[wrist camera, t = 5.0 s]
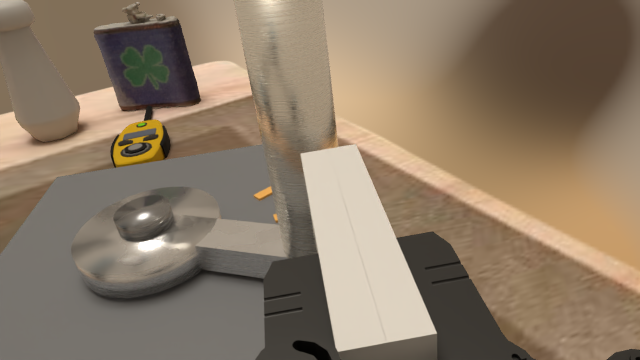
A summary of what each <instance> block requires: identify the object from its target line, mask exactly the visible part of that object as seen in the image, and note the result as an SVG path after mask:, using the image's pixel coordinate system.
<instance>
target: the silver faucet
mask: <svg viewBox="0 0 640 360" xmlns="http://www.w3.org/2000/svg"><path fill="white" fill-rule="evenodd" d="M234 5H235V10H236V15H237V20H238V25H239V30H240V35H241V40H242V45H243V50H244V55H245V60H246V64H247V70H248V75H249V80H250V85H251V90H252V95H253V100H254V105H255V110H256V115H257V120H258V124H259V129H260V134H261V139H262V144H263V149H264V154H265V159H266V164H267V169H268V174H269V179H270V184H271V189H272V194H273V199H274V204H275V209H276V214H277V219H278V224H279V225H276V224H266V223H257V222H247V221H237V220H227V219H222V217H221V214H220V210H219V206H218V204H217V201H216V200H215V199H214V197H213V196H211V195H210V194H209V193H207V192H205V191H203V190H200V189H196V188H191V187H165V188H158V189H153V190H149V191H145V192H141V193H138V194H135V195H132V196H129V197H127V198H124V199H122V200H120V201H118V202H116V203H114V204H112V205H110V206H108V207H106V208H105V209H103V210H102V211H100V212H99V213H97V214H96V215H95V216H93V217H92V218H91V219H90V220H89V221H87V222H86V223H85V224H84V225H83V226H82V228H81V229H80V230H79V231H78V233H77V234H76V236H75V238H74V240H73V243H72V246H71V254H72V258H73V260H74V262H75V264H76V266H77V268H78V270H79V272H80V274H81V276H82V278H83V280H84V282H85V283H86V285H87V286H88V287H89V288H90V289H91V290H93V291H94V292H96V293H98V294H100V295H103V296H107V297H113V298H134V297H141V296H147V295H151V294H155V293H158V292H161V291H164V290H167V289H170V288H172V287H174V286H176V285H179V284H181V283H182V282H184V281H186V280H188V279H190V278H191V277H193V276H194V275H196V274H197V273H199V272H200V271H201V270H209V271H216V272H223V273H229V274H236V275H243V276H250V277H257V278H264V277H265V275H266V274H267V272H268V270H269V268H270V266H271V264H272V262H273V261H278V260H284V259H290V258H295V257H301V256H306V255H312V254H317V249H316V243H315V237H314V232H313V226H312V220H311V214H310V208H309V202H308V196H307V190H306V184H305V178H304V172H303V166H302V160H301V153H307V152H312V151H318V150H324V149H330V148H336V147H338V139H337V130H336V121H335V112H334V103H333V94H332V85H331V77H330V67H329V58H328V49H327V40H326V31H325V22H324V13H323V4H322V0H234Z"/></svg>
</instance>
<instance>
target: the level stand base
mask: <svg viewBox="0 0 640 360" xmlns="http://www.w3.org/2000/svg"><path fill="white" fill-rule="evenodd" d="M165 187H191V188H196V189H200V190H203V191H205V192H207V193H209V194H210V195H211V196H213V197H214V199H215V200H216V201H217V204H218V206H219V210H220V214H221V217H222V219H227V220H237V221H247V222H257V223H266V224H276V225H279V224H278V219H277V214H276V209H275V204H274V199H273V194H272V189H271V184H270V179H269V174H268V169H267V164H266V159H265V154H264V149H263V144H262V145H256V146H249V147H243V148H237V149H231V150H224V151H218V152H212V153H206V154H199V155H193V156H187V157H180V158H174V159H168V160H162V161H155V162H149V163H143V164H137V165H130V166H124V167H118V168H112V169H105V170H99V171H93V172H86V173H80V174H74V175H68V176H61V177H57V178H56V179H55V181H54V182H53V183H52V185H51V186H50V187H49V189H48V190H47V192H46V193H45V194H44V196H43V197H42V198H41V200H40V201H39V202H38V204H37V205H36V207H35V208H34V209H33V211H32V212H31V213H30V215H29V216H28V218H27V219H26V220H25V222H24V223H23V224H22V226H21V227H20V228H19V230H18V231H17V233H16V234H15V235H14V237H13V238H12V239H11V241H10V242H9V244H8V245H7V246H6V248H5V249H4V250H3V252H2V253H1V254H0V360H255V359H256V358H257V356H258V355H259V353H260V352H261V350H263V349H264V348H265V330H264V318H265V316H264V280H263V279H264V278H257V277H250V276H243V275H236V274H229V273H223V272H216V271H209V270H201V271H200V272H199V273H197V274H196V275H194V276H193V277H191V278H190V279H188V280H186V281H184V282H182V283H181V284H179V285H176V286H174V287H172V288H170V289H167V290H164V291H161V292H158V293H155V294H151V295H147V296H141V297H134V298H113V297H107V296H103V295H100V294H98V293H96V292H94V291H93V290H91V289H90V288H89V287H88V286H87V285H86V283H85V282H84V280H83V278H82V276H81V274H80V272H79V270H78V268H77V266H76V264H75V262H74V260H73V258H72V254H71V246H72V243H73V240H74V238H75V236H76V234H77V233H78V231H79V230H80V229H81V228H82V226H83V225H84V224H85V223H86V222H87V221H89V220H90V219H91V218H92V217H93V216H95V215H96V214H97V213H99V212H100V211H102V210H103V209H105V208H106V207H108V206H110V205H112V204H114V203H116V202H118V201H120V200H122V199H124V198H127V197H129V196H132V195H135V194H138V193H141V192H145V191H149V190H153V189H158V188H165Z"/></svg>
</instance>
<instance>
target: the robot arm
mask: <svg viewBox="0 0 640 360" xmlns="http://www.w3.org/2000/svg"><path fill="white" fill-rule="evenodd" d="M301 160H302V166H303V172H304V178H305V184H306V190H307V196H308V202H309V208H310V214H311V220H312V226H313V232H314V237H315V243H316V249H317V254H312V255H306V256H301V257H295V258H290V259H284V260H278V261H273V262H272V264H271V266H270V268H269V270H268V272H267V274H266V275H265V277H264V279H263V280H264V316H265V318H264V330H265V348H264V349H263V350H261V352H260V353H259V355H258V356H257V358H256V359H255V360H536V359H533V358H531V356H530V355H529V354H528V353H527V352H526V351H525V350H523V349H522V348H520V347H518V346H517V345H515V344H513V343H512V342H510V341H508V340H507V339H506V337H505V336H504V335H503V333H502V332H501V330H500V328H499V327H498V325H497V323H496V322H495V320H494V318H493V316H492V315H491V313H490V311H489V310H488V308H487V306H486V304H485V303H484V301H483V299H482V298H481V296H480V294H479V292H478V291H477V289H476V287H475V286H474V284H473V282H472V280H471V279H469V275H468V274H467V272H466V270H465V268H464V267H463V265H461V263H460V260H459V258H458V256H457V255H456V253H455V251H454V250H453V248H452V246H451V244H449V243H448V242H446V241H445V240H444V239H442V238H441V237H440V236H438V235H437V234H435V233H434V232H427V233H422V234H416V235H410V236H405V237H399V238H396V237H395V234H394V232H393V230H392V227H391V225H390V223H389V220H388V218H387V216H386V213H385V211H384V209H383V206H382V204H381V202H380V199H379V197H378V195H377V192H376V190H375V188H374V185H373V183H372V181H371V178H370V176H369V174H368V171H367V169H366V167H365V164H364V162H363V160H362V157H361V155H360V153H359V150H358V148H357V146H356V144H354V145H348V146H342V147H336V148H330V149H324V150H318V151H312V152H307V153H301ZM607 360H640V350H636V349H629V350H625V351H620V352H616V353H614V354H613V355H612V356H611V357H609V358H608V359H607Z"/></svg>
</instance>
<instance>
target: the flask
mask: <svg viewBox="0 0 640 360" xmlns="http://www.w3.org/2000/svg"><path fill="white" fill-rule="evenodd" d="M138 5H140V3H139V2H136V3H135V4H132V5H129V6H128V7H127V8H122V10H123V12H124V13H127V14H128V15H127V17H128V20H129V21H130V22H126V23H117V24H109V25H105V26H99V27H97V28H95V29H94V37H95V39H96V41H97V43H98V45H99V48H100V50H101V53H102V56H103V58H104V62H105V64H106V67H107V70H108V73H109V77H110V79H111V82H112V84H113V87H114V90H115V93H116V96H117V100H118V103H119V106H120V108H121V109H122V110H127V111H136V109H137V110H142V109H145V110H146V109H147V106H149V105H150V106H152V109H159V108H162V107H167V108H169V107H174V106H175V107H179V106H190V105H193V104H194V105H195V104H199V102H200V101H201V100H200V95H199V90H198V86H197V82H196V78H195V76H194V72H193V69H192V65H191V61H190V59H189V55H188V51H187V48H186V44H185V40H184V36H183V33H182V28H181V25H180V23H179V20H178V19H177V18H175V17H174V16H171V17H167V18H165V15H164V14H158V16H157V17H156V18H155V19H150V18H151V17H153V15H149V16H148V14H146V13H145V12H139V11H138Z"/></svg>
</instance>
